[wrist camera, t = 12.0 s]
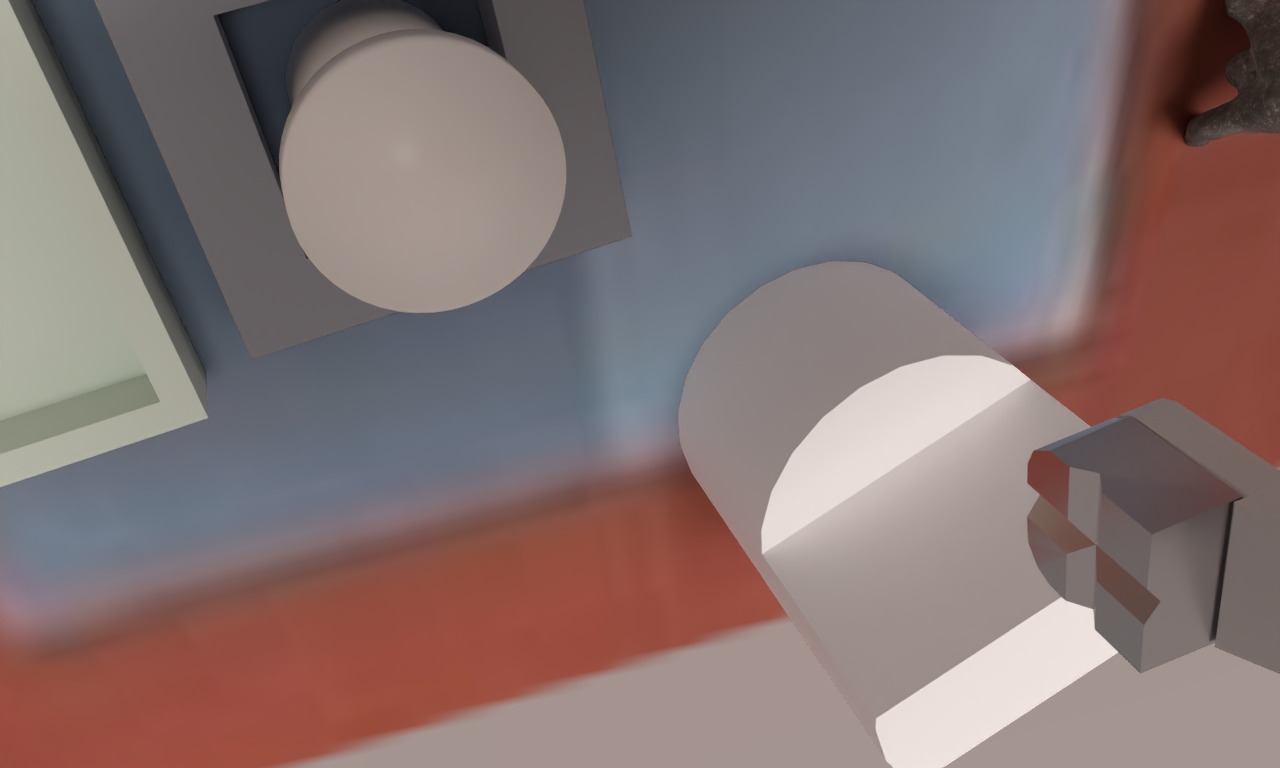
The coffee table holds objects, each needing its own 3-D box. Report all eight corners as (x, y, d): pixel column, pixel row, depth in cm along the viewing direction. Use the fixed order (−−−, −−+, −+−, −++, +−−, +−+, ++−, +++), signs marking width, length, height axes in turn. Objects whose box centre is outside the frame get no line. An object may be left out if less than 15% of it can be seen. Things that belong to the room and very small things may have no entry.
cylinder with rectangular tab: (745, 559, 39) (941, 850, 29) (628, 371, 33) (818, 649, 24) (971, 413, 39) (1240, 652, 29) (889, 203, 33) (1184, 409, 24)
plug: (452, -60, 26) (532, 7, 20) (507, 154, 29) (590, 265, 23) (222, 1, 25) (239, 89, 19) (303, 216, 28) (337, 347, 22)
